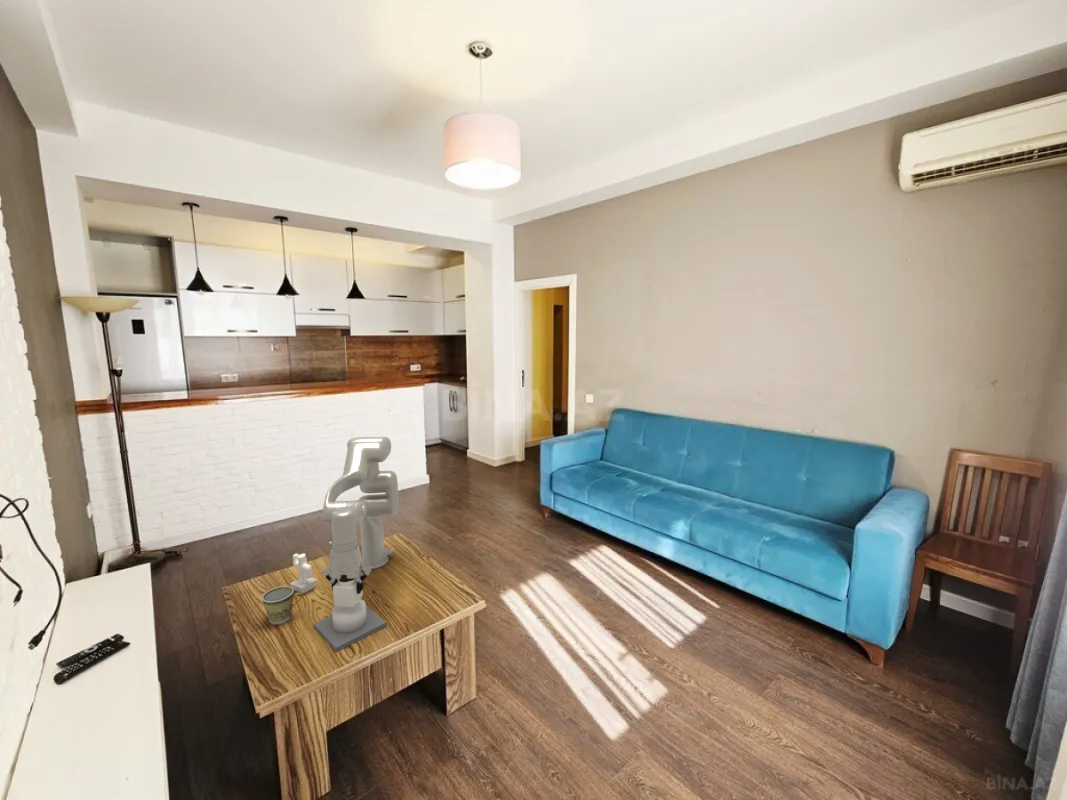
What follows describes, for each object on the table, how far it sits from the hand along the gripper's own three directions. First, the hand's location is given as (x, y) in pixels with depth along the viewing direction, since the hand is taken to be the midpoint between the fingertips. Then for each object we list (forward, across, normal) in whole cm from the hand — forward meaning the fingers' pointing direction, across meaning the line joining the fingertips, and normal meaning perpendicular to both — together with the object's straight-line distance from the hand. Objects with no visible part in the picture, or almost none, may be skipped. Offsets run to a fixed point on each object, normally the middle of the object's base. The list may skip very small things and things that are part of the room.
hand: (348, 591), depth 158 cm
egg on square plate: (+14, 0, 0) cm, 14 cm away
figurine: (+14, -27, +24) cm, 39 cm away
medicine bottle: (+4, 0, 0) cm, 4 cm away
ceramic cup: (+14, -26, +6) cm, 30 cm away
